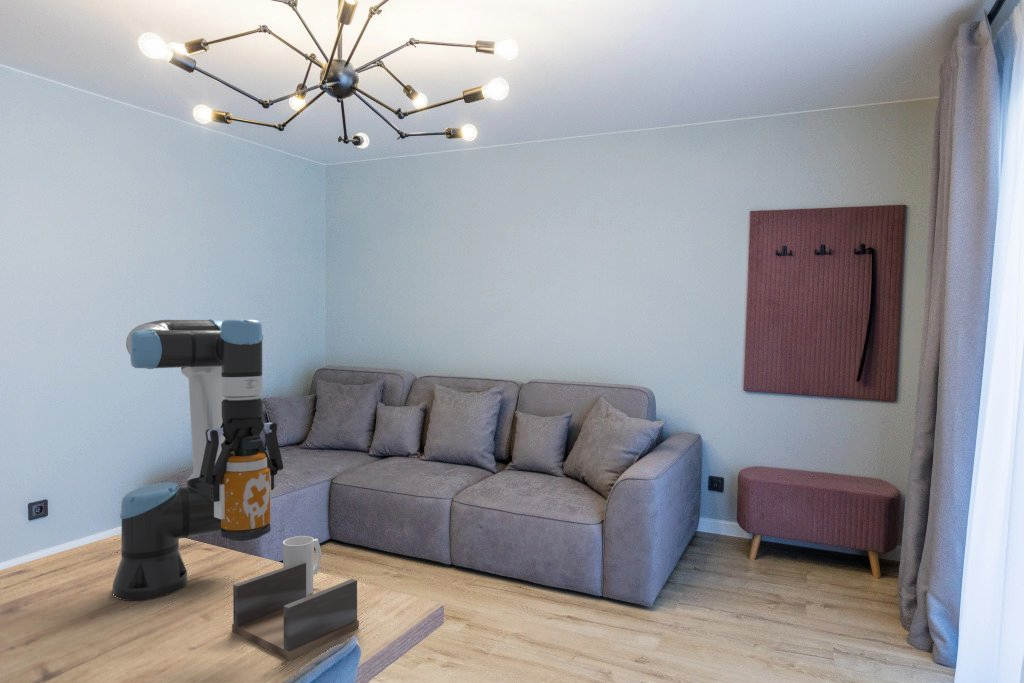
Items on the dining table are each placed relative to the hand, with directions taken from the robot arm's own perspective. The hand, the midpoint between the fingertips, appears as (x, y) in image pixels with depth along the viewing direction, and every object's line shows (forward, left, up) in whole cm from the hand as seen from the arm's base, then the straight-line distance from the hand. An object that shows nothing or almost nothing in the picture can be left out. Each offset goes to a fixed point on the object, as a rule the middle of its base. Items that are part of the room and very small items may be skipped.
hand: (243, 512), depth 127 cm
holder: (+7, +7, -24) cm, 26 cm away
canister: (0, 0, -5) cm, 5 cm away
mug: (-8, +20, -24) cm, 32 cm away
